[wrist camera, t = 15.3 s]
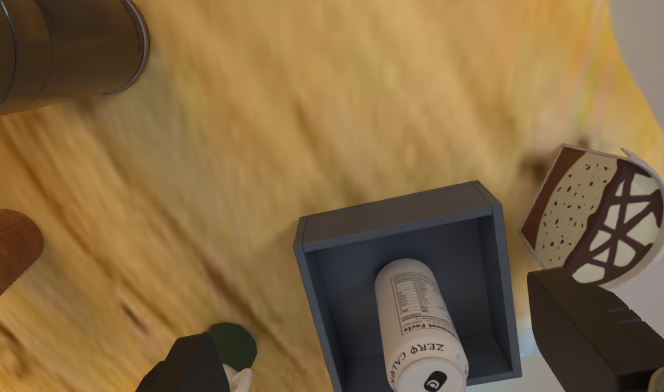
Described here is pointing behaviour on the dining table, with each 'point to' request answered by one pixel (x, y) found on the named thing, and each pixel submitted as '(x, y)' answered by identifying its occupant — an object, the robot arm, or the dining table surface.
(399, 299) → the energy drink can
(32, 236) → the disposable coffee cup
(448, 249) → the tub
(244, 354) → the character mug
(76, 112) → the dining table surface
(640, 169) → the food container
